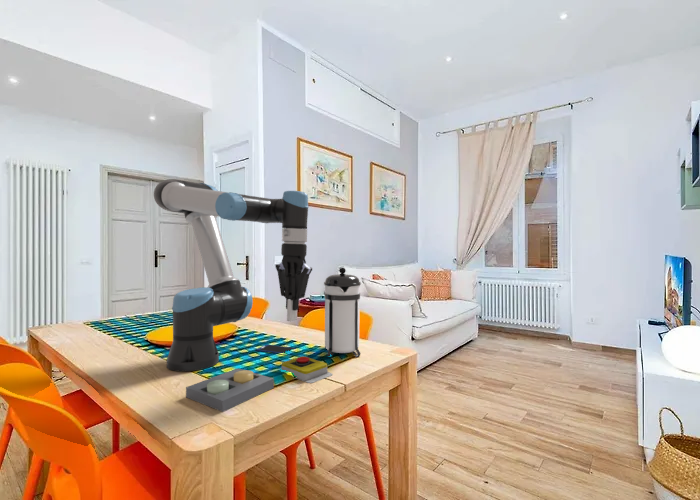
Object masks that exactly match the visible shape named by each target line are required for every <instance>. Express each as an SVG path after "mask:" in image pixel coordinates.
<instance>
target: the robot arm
mask: <svg viewBox="0 0 700 500" xmlns="http://www.w3.org/2000/svg"><path fill="white" fill-rule="evenodd" d="M153 198H154V201H155V203H156V204H157V206H159V207H160V208H161V209H162V210H165V211H167V212H171V213H181V214H183V215H184V218H185V221H186V223H188V224H191V226H192V229H193V232H194V236H195V240H196V243H197V247H198V251H199V255H200V257H201V261H202V264H203V268H204V271H205V274H206V278H207V281H208V286H207V287H195V288H194V287H193V288H188V289H185V290H181V291H179V292H177V293H175V295H174V297H173V299H172V300H173V301H172V307H171V310H172V344H171V346H170V349H169V353H168V356H167V358H166V368H167V369H168V370H170V371H174V372H193V371H194V372H195V371H200V370H205V369H207V368H208V369H209V368H210V367H213V366H215V365H216V364H218V363H219V361H220V360H219V359H220V355H219V354H220V353H219V350H218V348H217V344H216V342H215V339H214V327H217V326H222V325H226V324H230V323H236V322H238V321H242V320H244V319H246V318H247V317H249V315H250V314H251V310H252V308H253V305H254V304H253V303H254V301H253V294H252V293H251V291H250V290H249V289H248V288H247V287H245V286H242V284H241V281H240V279H239V278H237V277H235V276H234V273H233V270H232V267H231V263H230V260H229V255H228V254H227V250H226V247H225V244H224V241H223V238H222V234H221V230H220V227H219V223H218V222H217V218H221V219H223V220H227V221H232V222H233V221H243V222H253V223H254V222H255V223H261V224H276V223H277V224H278V223H279V224H281V225H282V226H281V227H282V228H281V241H282V242H283V243H282V244H281V252H280V253H281V256H282V260H281V262H280V263H279V264H275V270H276V271H277V276H278V278H277V279H278V284H279V291H280V296H281V297H284V298H285V309H286V321H287V322H295V321H297V316H298V314H297V313H298V310H299V308H300V307H299V305H300V304H299V303H300V300H301V299H303V298H305V296H306V291H307V289H308V288H307V287H308V283H309V278H310V274H311V273H312V271H313V267H311V266H309V265H308V264H307V261H306V256H307V251H308V250H307V248H308V247H307V244H306V243H307V242H308V217H309V216H308V215H309V208H310V207H309V196H308V194H307V193H306V192H304V191H298V190H286V191H284V192H283V195H282V198H269V197H260V196H254V195H248V194H247V195H246V194H240V193H236V192H227V191H220V190H218V189H217V188H216V187H215V186H213V185H210V184H206V183H204V182H194V181H187V180H181V179H175V178H168V179H164V180H162V181H160V182H159V183H158V184H156V186H155V188H154V190H153Z"/></svg>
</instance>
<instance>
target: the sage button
mask: <svg viewBox="0 0 700 500" xmlns="http://www.w3.org/2000/svg"><path fill="white" fill-rule="evenodd" d="M227 390H229V382H228V381H227V380H215V381H211V382H209V383H208V384H207V392H208V393H211V394H213V395H217V394H219V393H222V392H224V391H227Z"/></svg>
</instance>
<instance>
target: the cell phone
mask: <svg viewBox="0 0 700 500" xmlns="http://www.w3.org/2000/svg"><path fill="white" fill-rule="evenodd" d="M291 349H296V347H290V346H289V347H288V346H283V345H282V346H281V345H276V344H275V345H273V344H265V345H263V346H261V347H258V348H256V349H255V351H256V352H259V351H261V352H262V353H267V352H272V353H271V354H275V353H283V352H284V353H285V351H286V350H287V351H288V350H289V351H290V350H291Z"/></svg>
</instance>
